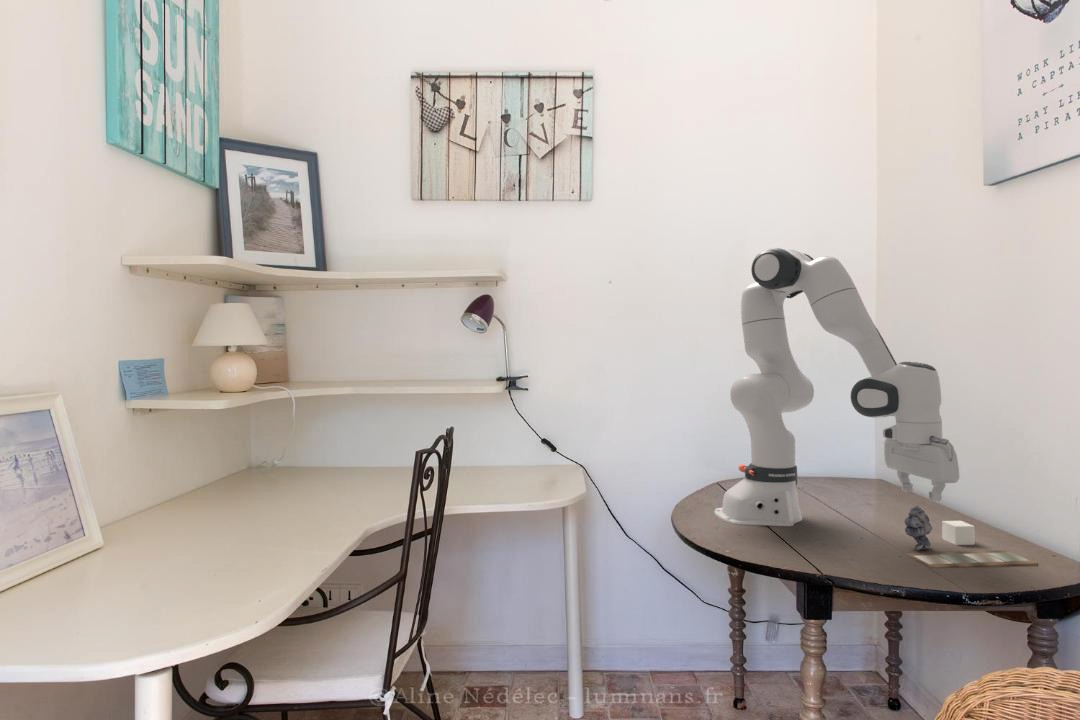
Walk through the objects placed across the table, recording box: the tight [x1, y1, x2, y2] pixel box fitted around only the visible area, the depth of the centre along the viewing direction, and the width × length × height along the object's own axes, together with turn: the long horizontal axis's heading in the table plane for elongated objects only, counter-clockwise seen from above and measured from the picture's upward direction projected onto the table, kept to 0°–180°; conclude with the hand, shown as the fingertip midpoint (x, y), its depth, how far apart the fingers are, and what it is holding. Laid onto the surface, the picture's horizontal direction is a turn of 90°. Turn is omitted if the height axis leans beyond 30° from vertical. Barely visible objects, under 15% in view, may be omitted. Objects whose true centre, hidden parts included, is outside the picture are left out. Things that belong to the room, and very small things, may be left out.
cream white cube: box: [941, 520, 976, 546], centre depth 143 cm, size 4×4×4 cm
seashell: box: [904, 505, 933, 551], centre depth 138 cm, size 5×5×10 cm
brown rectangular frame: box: [905, 549, 1039, 569], centre depth 130 cm, size 23×8×1 cm, turn 93°
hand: (920, 495), depth 137 cm, fingers open, 8 cm apart
